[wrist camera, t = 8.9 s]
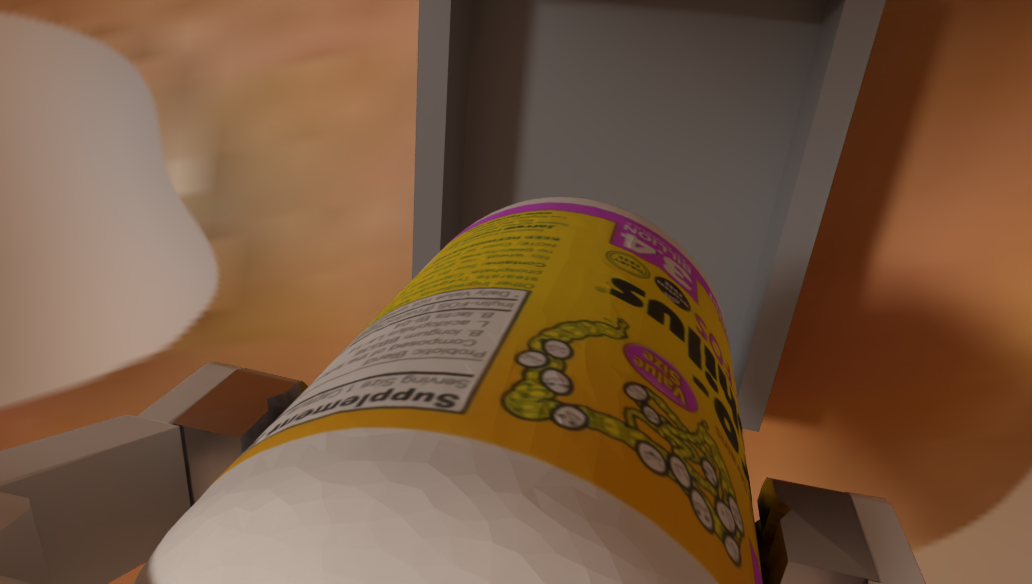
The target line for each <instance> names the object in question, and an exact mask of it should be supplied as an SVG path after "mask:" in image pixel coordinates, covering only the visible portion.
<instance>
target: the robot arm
mask: <svg viewBox="0 0 1032 584" xmlns="http://www.w3.org/2000/svg"><path fill="white" fill-rule="evenodd" d="M307 388H308V386H307V385H306V384H305V383H304V382H303V381H300V380H296V379H291V378H287V377H283V376H278V375H274V374H269V373H265V372H261V371H256V370H252V369H248V368H242V367H238V366H233V365H229V364H224V363H219V362H212V363H206V364H205V365H204V366H202V367H201V368H200V369H198V370H197V371H196V372H194V373H193V374H192V375H190V376H189V377H188V378H186V379H185V380H184V381H183V382H181V383H180V384H179V385H177V386H176V387H175V388H173V389H172V390H171V391H169V392H168V393H167V394H165V395H164V396H163V397H162V398H160V399H159V400H158V401H156V402H155V403H154V404H152V405H151V406H150V407H148V408H147V409H146V410H144V411H143V412H142V413H140V414H139V415H138V416H132V415H128V414H127V415H123V416H120V417H116V418H113V419H109V420H106V421H103V422H99V423H96V424H92V425H89V426H85V427H82V428H78V429H75V430H72V431H68V432H65V433H61V434H58V435H54V436H51V437H48V438H44V439H41V440H37V441H34V442H30V443H27V444H23V445H20V446H17V447H13V448H10V449H6V450H3V451H0V584H108V583H109V582H111V581H113V580H115V579H117V578H118V577H120V576H122V575H124V574H126V573H127V572H129V571H131V570H133V569H135V568H136V567H138V566H140V565H142V564H144V563H145V562H147V561H148V559H149V558H150V556H151V555H152V553H153V552H154V550H155V549H156V548H157V546H158V545H159V543H160V542H161V541H162V539H163V538H164V537H165V535H166V534H167V532H168V531H169V530H170V529H171V528H172V527H173V526H174V525H175V524H176V523H177V521H178V520H179V519H180V518H181V517H182V516H183V515H184V514H185V513H186V512H187V511H188V510H189V509H190V508H191V507H192V506H193V505H194V504H195V503H196V502H197V501H198V500H199V499H200V498H201V496H202V495H203V494H204V493H205V492H206V491H207V489H208V488H209V487H210V486H211V485H212V484H213V483H214V482H215V481H216V480H217V479H218V478H219V477H220V476H221V475H222V474H223V473H224V472H225V471H226V470H227V469H228V468H229V467H230V466H231V465H232V464H233V463H234V462H235V461H236V460H237V458H238V457H239V456H240V455H241V454H242V453H243V452H244V451H246V450H247V449H248V448H249V447H250V446H251V445H252V444H253V443H254V442H255V441H256V440H257V439H258V437H259V436H260V435H261V434H262V433H263V432H264V431H265V430H266V429H267V428H268V427H269V426H270V425H271V424H272V423H273V422H274V421H275V420H276V419H277V418H278V417H279V416H280V415H281V414H282V413H283V412H284V411H285V410H286V409H287V408H288V407H289V406H290V405H291V404H292V403H293V402H294V401H295V400H296V399H297V398H298V397H299V396H300V395H301V394H302V393H303V392H304V391H305V390H306V389H307ZM757 502H758V509H759V516H760V520H758V521H757V522H755V529H756V536H757V543H758V551H759V559H760V566H761V574H762V582H763V584H926V582H925V580H924V578H923V576H922V573H921V571H920V569H919V566H918V564H917V562H916V559H915V557H914V555H913V553H912V550H911V548H910V546H909V543H908V541H907V539H906V536H905V534H904V532H903V529H902V527H901V525H900V523H899V520H898V518H897V516H896V513H895V511H894V509H893V506H892V504H891V503H890V502H889V501H887V500H886V499H885V498H879V497H873V496H868V495H862V494H856V493H851V492H839V491H834V490H829V489H824V488H819V487H814V486H809V485H804V484H798V483H793V482H788V481H783V480H778V479H773V478H768V477H767V478H766V480H765V481H764V483H763V485H762V488H761V491H760V494H759V497H758V500H757Z"/></svg>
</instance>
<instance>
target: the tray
mask: <svg viewBox="0 0 1032 584" xmlns="http://www.w3.org/2000/svg"><path fill="white" fill-rule="evenodd" d="M885 2H886V0H419V31H418V70H417V109H416V148H415V187H414V226H413V265H412V280H413V279H414V278H415V277H416V276H417V275H418V274H419V272H420V271H421V270H422V269H423V268H424V267H425V266H426V265H427V264H428V263H429V262H430V261H431V260H432V259H433V258H434V257H435V256H436V255H437V254H438V253H439V252H440V251H441V250H442V249H443V248H444V247H445V246H446V245H447V244H448V243H449V242H450V241H451V240H452V239H453V238H455V237H456V236H457V235H458V234H460V233H461V232H462V231H464V230H465V229H466V228H468V227H469V226H471V225H472V224H473V223H475V222H476V221H478V220H480V219H482V218H483V217H485V216H487V215H489V214H491V213H493V212H495V211H498V210H500V209H503V208H505V207H507V206H510V205H513V204H516V203H519V202H523V201H528V200H532V199H539V198H550V197H573V198H583V199H590V200H596V201H600V202H604V203H608V204H611V205H614V206H617V207H620V208H623V209H625V210H628V211H630V212H632V213H635V214H637V215H639V216H641V217H643V218H645V219H646V220H648V221H650V222H651V223H653V224H654V225H656V226H657V227H659V228H660V229H662V230H664V231H665V232H666V233H667V234H668V235H670V236H671V237H672V238H673V239H675V240H676V241H677V242H678V243H679V244H680V245H681V246H682V247H683V248H684V249H685V250H686V251H687V252H688V253H689V254H690V255H691V257H692V258H693V259H694V260H695V261H696V263H697V264H698V265H699V267H700V268H701V270H702V271H703V272H704V274H705V276H706V277H707V279H708V281H709V282H710V284H711V286H712V288H713V290H714V292H715V294H716V296H717V298H718V301H719V304H720V307H721V309H722V312H723V316H724V321H725V326H726V331H727V335H728V339H729V344H730V352H731V358H732V365H733V372H734V379H735V385H736V392H737V398H738V408H739V414H740V420H741V424H742V428H743V429H748V430H753V431H758V432H759V430H760V426H761V423H762V420H763V416H764V413H765V409H766V406H767V403H768V399H769V396H770V392H771V389H772V386H773V382H774V379H775V375H776V372H777V369H778V365H779V362H780V358H781V355H782V352H783V348H784V345H785V342H786V338H787V335H788V331H789V328H790V325H791V321H792V318H793V314H794V311H795V308H796V304H797V301H798V297H799V294H800V291H801V287H802V284H803V280H804V277H805V274H806V270H807V267H808V263H809V260H810V257H811V253H812V250H813V246H814V243H815V240H816V236H817V233H818V229H819V226H820V223H821V219H822V216H823V212H824V209H825V206H826V202H827V199H828V196H829V192H830V189H831V185H832V182H833V179H834V175H835V172H836V168H837V165H838V162H839V158H840V155H841V151H842V148H843V145H844V141H845V138H846V134H847V131H848V128H849V124H850V121H851V117H852V114H853V111H854V107H855V104H856V100H857V97H858V94H859V90H860V87H861V83H862V80H863V77H864V73H865V70H866V67H867V63H868V60H869V56H870V53H871V50H872V46H873V43H874V39H875V36H876V33H877V29H878V26H879V22H880V19H881V16H882V12H883V9H884V5H885Z"/></svg>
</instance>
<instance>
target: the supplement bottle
mask: <svg viewBox="0 0 1032 584" xmlns="http://www.w3.org/2000/svg"><path fill="white" fill-rule="evenodd" d="M134 584H763V582H762V574H761V566H760V559H759V551H758V543H757V536H756V529H755V522H754V515H753V508H752V496H751V489H750V481H749V475H748V470H747V464H746V456H745V448H744V440H743V435H742V424H741V420H740V414H739V408H738V398H737V392H736V385H735V379H734V372H733V365H732V358H731V352H730V344H729V339H728V335H727V331H726V326H725V321H724V316H723V312H722V309H721V307H720V304H719V301H718V298H717V296H716V294H715V292H714V290H713V288H712V286H711V284H710V282H709V281H708V279H707V277H706V276H705V274H704V272H703V271H702V270H701V268H700V267H699V265H698V264H697V263H696V261H695V260H694V259H693V258H692V257H691V255H690V254H689V253H688V252H687V251H686V250H685V249H684V248H683V247H682V246H681V245H680V244H679V243H678V242H677V241H676V240H675V239H673V238H672V237H671V236H670V235H668V234H667V233H666V232H665V231H664V230H662V229H660V228H659V227H657V226H656V225H654V224H653V223H651V222H650V221H648V220H646V219H645V218H643V217H641V216H639V215H637V214H635V213H632V212H630V211H628V210H625V209H623V208H620V207H617V206H614V205H611V204H608V203H604V202H600V201H596V200H590V199H583V198H573V197H550V198H539V199H532V200H528V201H523V202H519V203H516V204H513V205H510V206H507V207H505V208H503V209H500V210H498V211H495V212H493V213H491V214H489V215H487V216H485V217H483V218H482V219H480V220H478V221H476V222H475V223H473V224H472V225H471V226H469V227H468V228H466V229H465V230H464V231H462V232H461V233H460V234H458V235H457V236H456V237H455V238H453V239H452V240H451V241H450V242H449V243H448V244H447V245H446V246H445V247H444V248H443V249H442V250H441V251H440V252H439V253H438V254H437V255H436V256H435V257H434V258H433V259H432V260H431V261H430V262H429V263H428V264H427V265H426V266H425V267H424V268H423V269H422V270H421V271H420V272H419V274H418V275H417V276H416V277H415V278H414V279H413V280H412V281H411V282H409V283H408V285H407V286H406V287H405V288H404V289H403V290H402V291H401V292H400V293H399V294H398V295H397V296H396V297H395V298H394V299H393V300H392V301H391V302H390V303H389V304H388V305H387V306H386V307H385V308H384V309H383V310H382V312H381V313H380V314H379V315H378V316H377V317H376V318H375V319H374V320H373V321H372V322H371V323H370V324H369V325H368V326H367V327H366V328H365V329H364V330H363V331H362V332H361V333H360V334H359V335H358V336H357V337H356V338H355V339H354V340H353V341H352V342H351V343H350V345H349V346H348V347H346V348H345V349H344V351H343V352H342V353H341V354H340V355H339V356H338V357H337V358H336V359H335V360H334V361H333V362H332V363H331V364H330V365H329V366H328V367H327V368H326V369H325V370H324V371H323V372H322V373H321V375H320V376H319V377H318V378H317V379H316V380H315V381H314V382H313V383H312V384H311V385H310V386H309V387H308V388H307V389H306V390H305V391H304V392H303V393H302V394H301V395H300V396H299V397H298V398H297V399H296V400H295V401H294V402H293V403H292V404H291V405H290V406H289V407H288V408H287V409H286V410H285V411H284V412H283V413H282V414H281V415H280V416H279V417H278V418H277V419H276V420H275V421H274V422H273V423H272V424H271V425H270V426H269V427H268V428H267V429H266V430H265V431H264V432H263V433H262V434H261V435H260V436H259V437H258V439H257V440H256V441H255V442H254V443H253V444H252V445H251V446H250V447H249V448H248V449H247V450H246V451H244V452H243V453H242V454H241V455H240V456H239V457H238V458H237V460H236V461H235V462H234V463H233V464H232V465H231V466H230V467H229V468H228V469H227V470H226V471H225V472H224V473H223V474H222V475H221V476H220V477H219V478H218V479H217V480H216V481H215V482H214V483H213V484H212V485H211V486H210V487H209V488H208V489H207V491H206V492H205V493H204V494H203V495H202V496H201V498H200V499H199V500H198V501H197V502H196V503H195V504H194V505H193V506H192V507H191V508H190V509H189V510H188V511H187V512H186V513H185V514H184V515H183V516H182V517H181V518H180V519H179V520H178V521H177V523H176V524H175V525H174V526H173V527H172V528H171V529H170V530H169V531H168V532H167V534H166V535H165V537H164V538H163V539H162V541H161V542H160V543H159V545H158V546H157V548H156V549H155V550H154V552H153V553H152V555H151V556H150V558H149V559H148V561H147V562H146V564H145V565H144V567H143V568H142V570H141V571H140V573H139V575H138V577H137V579H136V581H135V583H134Z"/></svg>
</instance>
